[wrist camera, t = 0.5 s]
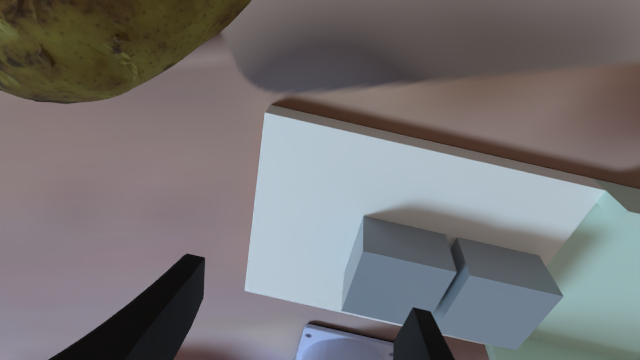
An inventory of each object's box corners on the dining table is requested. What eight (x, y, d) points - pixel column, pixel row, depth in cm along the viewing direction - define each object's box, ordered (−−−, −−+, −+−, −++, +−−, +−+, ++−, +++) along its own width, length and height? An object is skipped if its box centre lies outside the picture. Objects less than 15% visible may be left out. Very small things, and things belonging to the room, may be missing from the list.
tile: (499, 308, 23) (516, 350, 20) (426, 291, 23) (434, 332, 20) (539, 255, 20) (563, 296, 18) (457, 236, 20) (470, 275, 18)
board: (479, 330, 26) (484, 344, 25) (249, 278, 26) (244, 290, 25) (592, 178, 19) (605, 190, 18) (270, 104, 19) (264, 112, 18)
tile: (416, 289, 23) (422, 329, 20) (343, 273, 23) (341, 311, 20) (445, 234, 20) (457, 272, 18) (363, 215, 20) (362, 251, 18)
